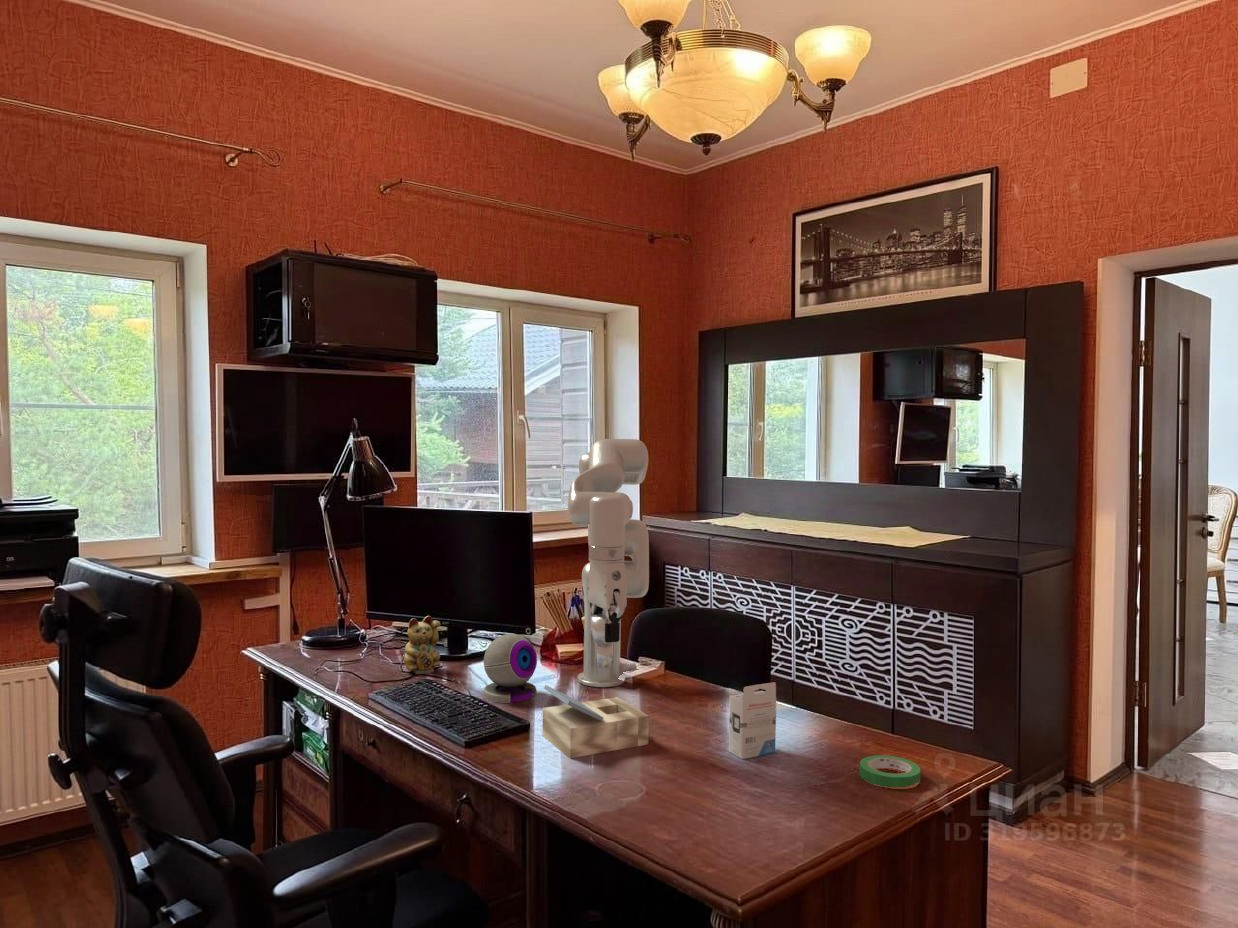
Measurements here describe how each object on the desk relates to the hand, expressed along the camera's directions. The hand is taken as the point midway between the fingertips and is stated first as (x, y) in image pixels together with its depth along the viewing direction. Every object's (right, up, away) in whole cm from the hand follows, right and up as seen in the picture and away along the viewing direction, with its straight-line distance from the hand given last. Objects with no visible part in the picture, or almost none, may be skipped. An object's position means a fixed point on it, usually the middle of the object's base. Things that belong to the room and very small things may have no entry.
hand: (605, 637), depth 182 cm
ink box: (+30, -22, -7) cm, 38 cm away
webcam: (-24, -20, +29) cm, 43 cm away
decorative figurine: (-51, -19, +49) cm, 73 cm away
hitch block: (-2, -21, -1) cm, 22 cm away
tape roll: (+55, -24, -18) cm, 62 cm away
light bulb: (0, -6, 0) cm, 6 cm away
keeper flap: (-7, -13, -4) cm, 15 cm away
